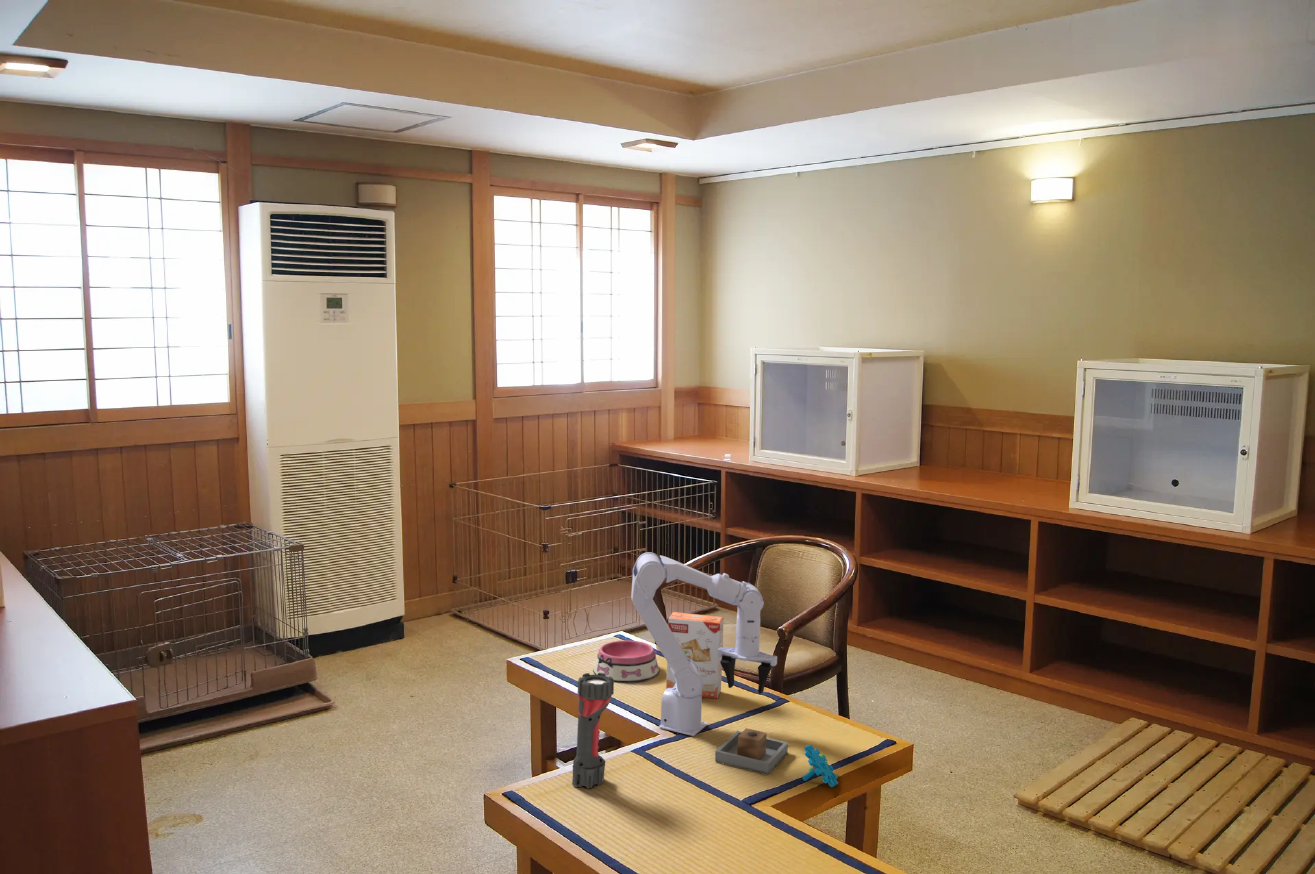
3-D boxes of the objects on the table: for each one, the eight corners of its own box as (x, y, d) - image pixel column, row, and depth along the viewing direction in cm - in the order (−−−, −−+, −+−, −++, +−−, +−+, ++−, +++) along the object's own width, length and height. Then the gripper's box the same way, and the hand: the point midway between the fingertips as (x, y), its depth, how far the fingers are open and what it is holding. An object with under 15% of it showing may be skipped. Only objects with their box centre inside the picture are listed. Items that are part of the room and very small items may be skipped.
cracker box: (665, 694, 255) (667, 617, 253) (670, 686, 261) (672, 610, 259) (717, 700, 252) (720, 622, 249) (721, 691, 258) (724, 615, 255)
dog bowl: (579, 670, 272) (580, 646, 271) (629, 656, 284) (630, 633, 284) (622, 689, 258) (622, 664, 258) (672, 673, 271) (673, 650, 270)
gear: (836, 789, 201) (805, 749, 204) (815, 805, 203) (784, 766, 205) (843, 773, 212) (813, 736, 214) (823, 789, 213) (793, 752, 215)
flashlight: (615, 775, 209) (617, 673, 206) (605, 792, 201) (607, 686, 198) (581, 770, 210) (582, 669, 208) (570, 787, 203) (571, 682, 200)
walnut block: (737, 757, 218) (737, 736, 217) (745, 748, 222) (746, 727, 221) (757, 762, 215) (758, 740, 215) (765, 753, 220) (766, 732, 219)
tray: (715, 761, 216) (715, 751, 216) (737, 740, 227) (737, 730, 227) (767, 774, 210) (768, 764, 210) (787, 752, 222) (788, 742, 221)
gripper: (713, 635, 232) (712, 689, 234) (771, 644, 227) (769, 700, 228) (724, 627, 239) (722, 680, 240) (780, 636, 233) (778, 690, 235)
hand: (745, 689), depth 235 cm, fingers open, 7 cm apart
